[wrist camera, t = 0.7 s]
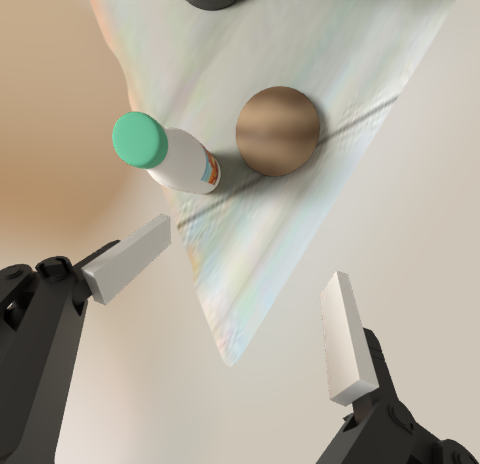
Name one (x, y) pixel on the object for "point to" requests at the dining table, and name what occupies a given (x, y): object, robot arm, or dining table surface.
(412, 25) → the dining table surface
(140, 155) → the milk bottle
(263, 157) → the brown round coaster
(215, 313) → the dining table surface
